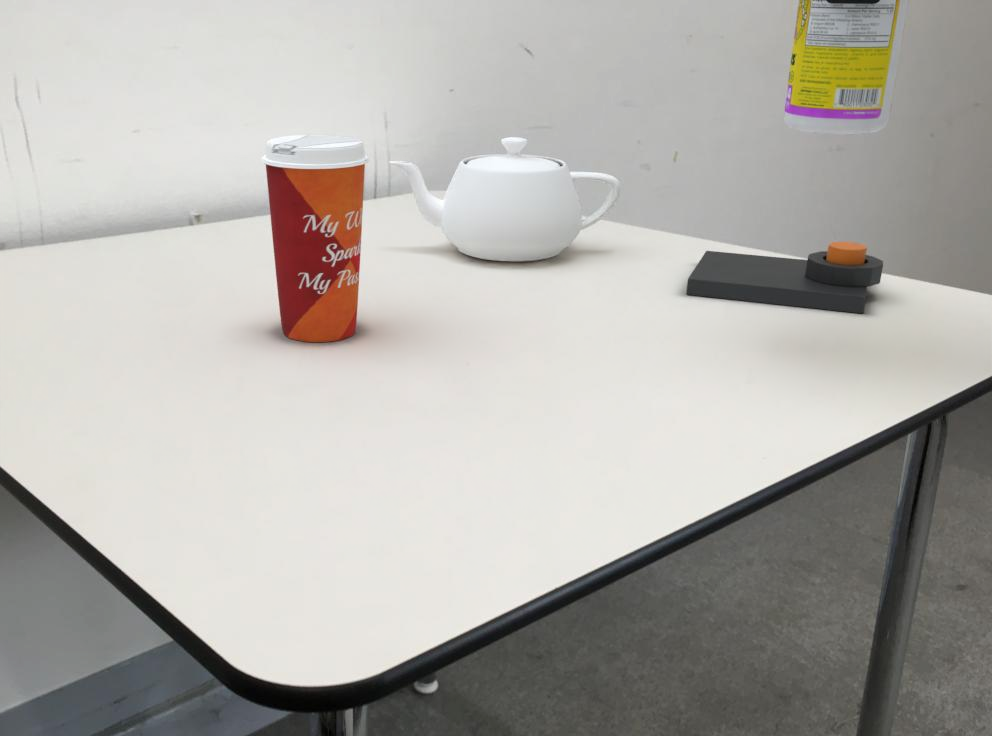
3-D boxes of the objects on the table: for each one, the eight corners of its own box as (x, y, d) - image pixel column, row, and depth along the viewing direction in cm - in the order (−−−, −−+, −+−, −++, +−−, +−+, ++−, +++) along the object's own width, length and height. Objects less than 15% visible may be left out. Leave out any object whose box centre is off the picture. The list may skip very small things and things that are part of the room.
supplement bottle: (810, 121, 78) (839, -78, 73) (903, 129, 74) (941, -82, 69) (763, 129, 74) (790, -82, 69) (859, 139, 69) (896, -86, 64)
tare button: (864, 261, 93) (867, 243, 92) (863, 269, 90) (866, 251, 90) (826, 258, 94) (829, 240, 93) (824, 265, 91) (827, 247, 91)
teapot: (604, 237, 112) (613, 128, 108) (626, 270, 100) (637, 150, 95) (390, 234, 113) (391, 126, 109) (385, 267, 100) (386, 147, 96)
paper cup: (324, 353, 78) (320, 152, 72) (246, 333, 82) (237, 141, 76) (391, 328, 83) (392, 139, 78) (315, 310, 88) (311, 130, 82)
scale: (877, 282, 97) (883, 248, 95) (876, 315, 87) (883, 278, 86) (704, 265, 102) (708, 233, 101) (685, 294, 93) (690, 259, 91)
